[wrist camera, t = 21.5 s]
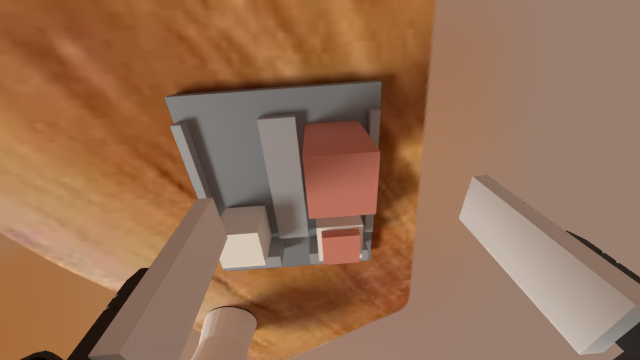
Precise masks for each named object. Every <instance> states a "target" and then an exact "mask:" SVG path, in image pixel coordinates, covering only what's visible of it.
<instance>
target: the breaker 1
mask: <svg viewBox="0 0 640 360" xmlns="http://www.w3.org/2000/svg"><path fill="white" fill-rule="evenodd" d="M220 219H221V221H222V224H223V227H224V229H225V232H226V235H227V237H228V238H227V241H226V243H225V246H224V248H223V251H222V253H221V256H220V258H219V260H220V262H221V265H222V267H223V269H224V268H237V267H250V266H263V265H266V262H267V257H268V252H269V247H270V243H271V238H272V233H271V229H270V224H269V219H268V215H267V210H266V206H265V205H263V206H249V207H236V208H225V210H224V212H223V214H222V216H221V217H220Z"/></svg>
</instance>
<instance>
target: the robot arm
mask: <svg viewBox="0 0 640 360" xmlns="http://www.w3.org/2000/svg"><path fill="white" fill-rule="evenodd" d="M459 219H460V220H461V221H462V222H463V224H465V226H466V227H467V228H468V229H469V230H470V231H471V233H472V234H473V235H474V236H475V237H476V238H477V239H478V240H479V241H480V243H481V244H482V245H483V246H484V247H485V248H486V250H487V251H488V252H489V253H490V254H491V255H492V256H493V257H494V259H495V260H496V261H497V262H498V263H499V264H500V265H501V266H502V268H503V269H504V270H505V271H506V272H507V273H508V274H509V275H510V277H511V278H512V279H513V280H514V281H515V282H516V283H517V285H519V287H520V288H521V289H522V290H523V291H524V292H525V294H526V295H527V296H528V297H529V298H530V299H531V300H532V301H533V303H534V304H535V305H536V306H537V307H538V308H539V309H540V311H542V313H543V314H544V315H545V316H546V317H547V318H548V320H549V321H550V322H551V323H552V324H553V325H554V326H555V327H556V329H557V330H558V331H559V332H560V333H561V334H562V335H563V336H564V337H565V339H566V340H567V341H568V342H569V343H570V344H571V346H572V347H573V348H574V349H575V350H576V351H577V352H578V353H579V354H580V355H581V354H592V353H602V352H604V351H605V350H606V349H608V348H609V347H610V346H611V345H613V344H614V343H616V344H617V345H618V346H619V347H620V348H621V349H622V350H624V352H623V353H622V354H620V355H619V356H618V357H616V358H615V359H613V360H640V277H639V276H637V275H636V274H634V273H633V272H632V271H630V270H629V269H627V268H626V267H624V266H623V265H621V264H620V263H616V260H614V259H613V258H611V257H610V256H608V255H607V254H606V253H602V251H601V250H600V249H598V248H597V247H595V246H594V245H593V244H591V243H590V242H588V241H587V240H585V239H583V238H581V237H579V236H577V235H575V234H573V233H571V232H569V231H565V230H563V229H562V228H560V227H559V226H558V225H556V224H555V223H554V222H552V221H551V220H549V219H548V218H546V217H545V216H544V215H542V214H541V213H539V212H538V211H537V210H535V209H534V208H532V207H531V206H530V205H528V204H527V203H526V202H524V201H523V200H521V199H520V198H519V197H517V196H516V195H514V194H513V193H512V192H510V191H509V190H507V189H506V188H505V187H503V186H502V185H500V184H499V183H498V182H496V181H495V180H493V179H492V178H491V177H489V176H488V175H484V176H473V177H472V180H471V183H470V186H469V189H468V192H467V195H466V198H465V201H464V204H463V207H462V211H461V213H460V216H459ZM227 238H228V237H227V235H226V232H225V229H224V227H223V224H222V221H221V219H220V216H219V213H218V210H217V208H216V205H215V202H214V200H213V198H202V199H197V200H196V201H195V203H194V204H193V206H192V207H191V209H190V210H189V211H188V213H187V214H186V216H185V217H184V219H183V220H182V222H181V223H180V224H179V226H178V227H177V229H176V230H175V232H174V233H173V234H172V236H171V237H170V239H169V240H168V242H167V243H166V245H165V246H164V247H163V249H162V250H161V252H160V253H159V255H158V256H157V258H156V259H155V260H154V262H153V263H152V265H151V266H150V268H141V269H140V270H138V271H137V272H136V273H135V274H134V275H133V276H131V277H130V278H129V279H128V280H127V281H126V282H125V283H124V285H123V286H122V287H121V289H120V290H119V291H118V293H117V294H116V297H115V298H113V299H112V301H111V302H110V303H109V304H108V306H107V309H106V310H104V311H103V313H102V314H101V315H100V316H99V318H98V319H97V320H96V322H95V323H94V324H93V326H92V327H91V328H90V330H89V331H88V332H87V334H86V335H85V337H84V338H83V339H82V340H81V342H80V343H79V344H78V346H77V347H76V348H75V350H74V351H73V352H72V354H71V355H70V356H69V358H68V359H67V360H179V359H180V357H181V354H182V352H183V349H184V346H185V344H186V341H187V339H188V336H189V334H190V331H191V329H192V326H193V324H194V321H195V319H196V316H197V314H198V311H199V309H200V306H201V304H202V301H203V299H204V296H205V294H206V291H207V289H208V286H209V284H210V281H211V279H212V276H213V274H214V271H215V269H216V266H217V264H218V261H219V258H220V256H221V253H222V251H223V248H224V246H225V243H226V241H227ZM21 360H63V359H61V358H60V357H59V356H57V355H56V354H54V353H52V352H49V351H42V352H37V353H33V354H31V355H29V356H27V357H25V358H23V359H21Z"/></svg>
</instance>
